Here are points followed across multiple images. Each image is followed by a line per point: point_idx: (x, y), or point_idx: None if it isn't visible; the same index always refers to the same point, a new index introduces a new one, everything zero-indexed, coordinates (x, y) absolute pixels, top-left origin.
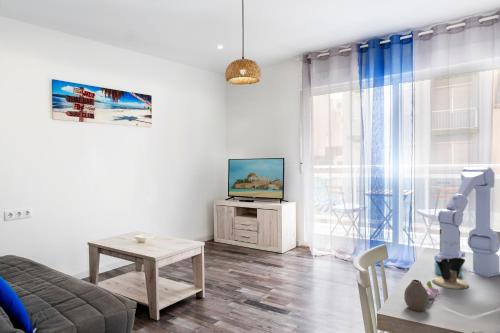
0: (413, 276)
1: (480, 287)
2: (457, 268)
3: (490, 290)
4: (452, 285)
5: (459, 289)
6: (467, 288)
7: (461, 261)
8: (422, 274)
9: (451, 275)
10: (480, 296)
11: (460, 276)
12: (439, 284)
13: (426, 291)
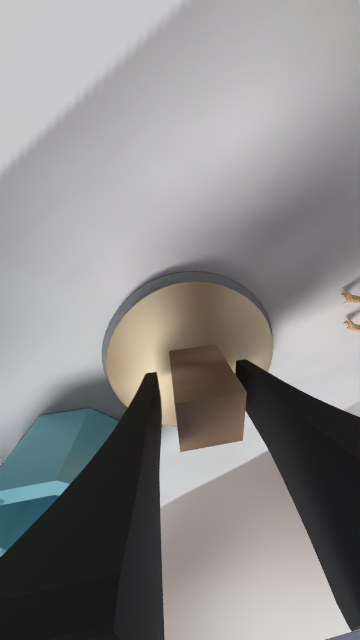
0: (232, 455)
1: (48, 280)
2: (149, 434)
3: (19, 212)
4: (242, 317)
5: (229, 280)
6: (171, 275)
7: (124, 565)
8: (181, 465)
9: (232, 374)
10: (192, 156)
11: (43, 421)
12: (268, 356)
13: None
